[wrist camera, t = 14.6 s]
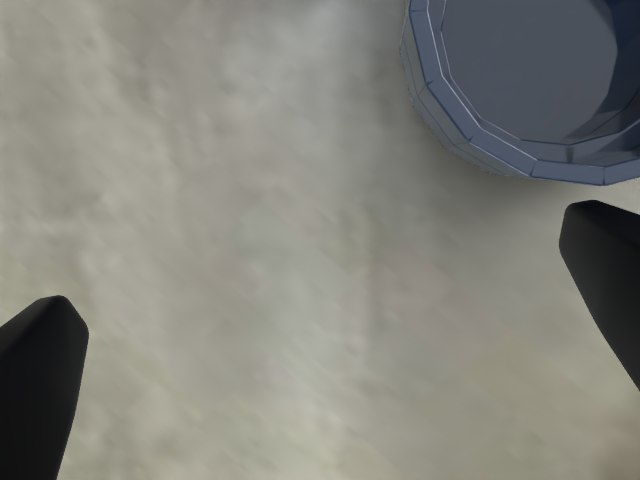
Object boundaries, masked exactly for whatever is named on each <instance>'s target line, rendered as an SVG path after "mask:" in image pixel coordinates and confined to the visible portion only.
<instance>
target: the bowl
mask: <svg viewBox="0 0 640 480" xmlns="http://www.w3.org/2000/svg"><path fill="white" fill-rule="evenodd" d="M400 57H401V61H402V65H403V69H404V73H405V77H406V81H407V86H408V90H409V94H410V98H411V102H412V104H413V107H414V108H415V110H416V111H417V112H418V114H419V115H420V116H421V118H422V119H423V120H424V122H425V123H426V124H427V126H428V127H429V129H430V130H431V131H432V133H433V134H434V135H435V137H436V138H437V139H438V141H439V142H440V143H441V145H442V146H443V147H445V149H447V150H449V151H451V152H452V153H454V154H456V155H458V156H459V157H461V158H463V159H465V160H466V161H468V162H470V163H472V164H473V165H475V166H477V167H479V168H480V169H482V170H484V171H486V172H487V173H491V174H494V175H503V176H511V177H519V178H527V179H536V180H544V181H554V182H564V183H574V184H584V185H593V186H607V185H611V184H615V183H619V182H623V181H627V180H631V179H635V178H639V177H640V0H407V1H406V8H405V15H404V22H403V29H402V36H401V43H400Z"/></svg>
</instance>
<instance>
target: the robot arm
mask: <svg viewBox="0 0 640 480" xmlns="http://www.w3.org/2000/svg"><path fill="white" fill-rule="evenodd" d="M559 249H560V253H561V255H562V258H563V260H564V262H565V264H566V266H567V268H568V269H569V271H570V273H571V275H572V277H573V279H574V281H575V283H576V285H577V287H578V289H579V291H580V293H581V295H582V297H583V299H584V301H585V303H586V305H587V307H588V309H589V311H590V313H591V315H592V317H593V319H594V321H595V322H596V324H597V326H598V328H599V330H600V331H601V333H602V334H603V336H604V338H605V339H606V341H607V342H608V344H609V345H610V347H611V348H612V350H613V351H614V353H615V354H616V356H617V357H618V359H619V360H620V362H621V364H622V365H623V367H624V368H625V370H626V371H627V373H628V374H629V376H630V377H631V379H632V380H633V382H634V383H635V385H636V386H637V388H638V389H639V391H640V215H638V214H635V213H632V212H629V211H627V210H624V209H621V208H618V207H615V206H612V205H609V204H606V203H603V202H600V201H597V200H588V201H582V202H577V203H572V204H570V205H569V206H568V207H567V208H566V210H565V214H564V219H563V224H562V229H561V234H560V239H559ZM88 339H89V331H88V327H87V325H86V323H85V322H84V320H83V319H82V318H81V316H80V315H79V313H78V312H77V311H76V309H75V308H74V307H73V305H72V304H71V302H70V301H69V300H68V299H67V298H66V297H64V296H61V295H57V296H51V297H46V298H41V299H38V300H36V301H35V302H33V303H32V304H31V305H29V306H28V307H27V308H25V309H24V310H23V311H21V312H20V313H19V314H17V315H16V316H15V317H13V318H12V319H11V320H9V321H8V322H7V323H5V324H4V325H3V326H1V327H0V480H56V479H57V476H58V472H59V469H60V465H61V462H62V458H63V455H64V451H65V448H66V445H67V441H68V438H69V434H70V431H71V427H72V423H73V419H74V416H75V411H76V406H77V402H78V396H79V390H80V385H81V379H82V373H83V368H84V362H85V356H86V351H87V345H88Z"/></svg>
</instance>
